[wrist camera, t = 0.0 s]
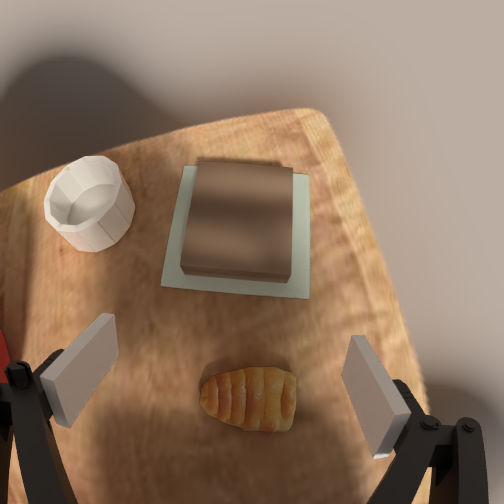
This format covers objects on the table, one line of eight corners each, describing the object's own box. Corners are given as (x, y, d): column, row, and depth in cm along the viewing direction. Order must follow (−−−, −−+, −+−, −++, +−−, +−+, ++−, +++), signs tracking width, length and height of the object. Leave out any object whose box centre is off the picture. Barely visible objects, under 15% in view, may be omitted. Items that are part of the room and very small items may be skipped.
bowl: (124, 256, 34) (105, 234, 28) (57, 249, 34) (33, 229, 28) (143, 184, 38) (130, 155, 32) (79, 183, 38) (62, 157, 32)
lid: (286, 283, 33) (291, 274, 30) (184, 274, 33) (179, 265, 30) (289, 182, 38) (292, 167, 35) (201, 175, 38) (199, 160, 35)
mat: (308, 299, 33) (309, 298, 33) (160, 286, 33) (160, 285, 32) (308, 176, 39) (308, 174, 39) (184, 166, 39) (184, 165, 39)
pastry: (199, 424, 28) (194, 430, 24) (204, 362, 30) (199, 360, 27) (291, 430, 28) (298, 436, 24) (295, 367, 30) (303, 366, 27)
